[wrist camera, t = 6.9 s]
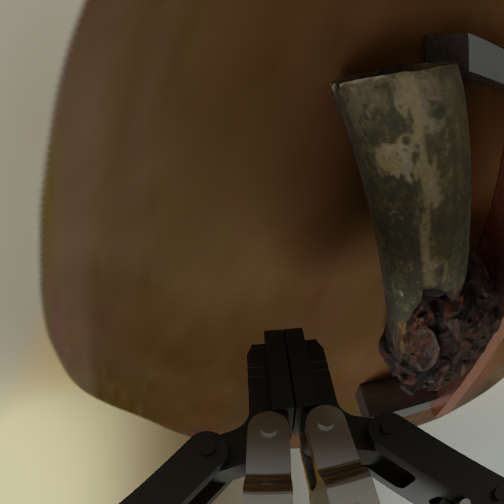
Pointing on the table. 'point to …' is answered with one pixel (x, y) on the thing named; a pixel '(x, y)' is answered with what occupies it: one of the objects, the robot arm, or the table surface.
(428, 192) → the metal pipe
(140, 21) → the table surface
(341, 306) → the table surface
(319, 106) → the table surface
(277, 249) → the table surface
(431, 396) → the brown pull handle
